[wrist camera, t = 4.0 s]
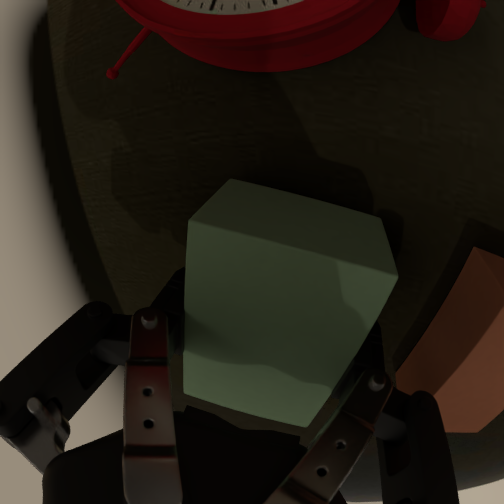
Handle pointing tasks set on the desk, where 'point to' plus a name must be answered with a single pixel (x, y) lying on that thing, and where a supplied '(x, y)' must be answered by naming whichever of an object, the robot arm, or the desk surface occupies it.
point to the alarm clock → (283, 28)
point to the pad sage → (278, 298)
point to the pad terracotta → (464, 348)
